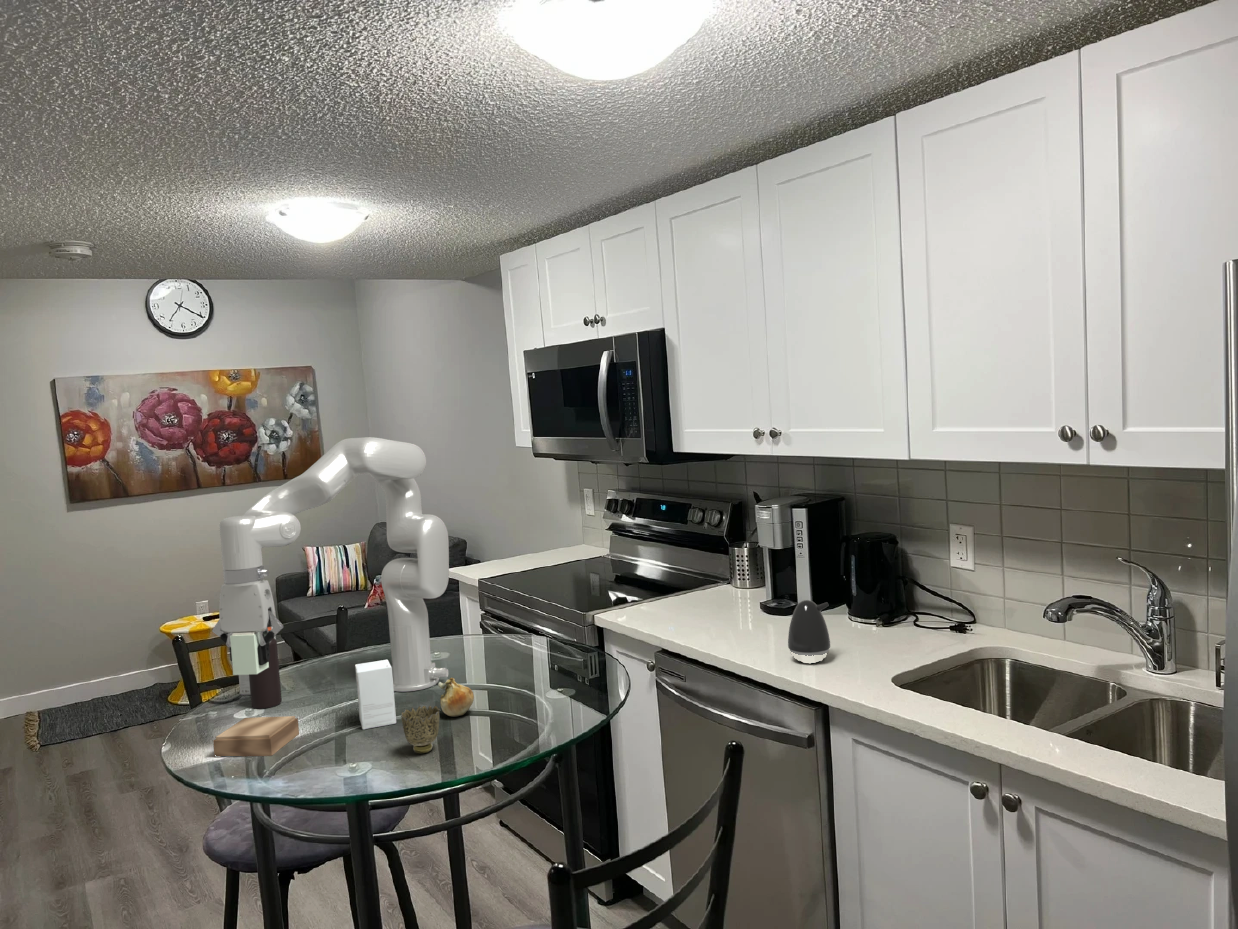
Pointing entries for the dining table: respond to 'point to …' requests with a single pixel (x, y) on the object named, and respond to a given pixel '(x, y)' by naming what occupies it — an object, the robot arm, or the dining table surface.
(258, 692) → the bottle
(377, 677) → the supplement box
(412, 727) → the cup
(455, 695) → the onion
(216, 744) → the base block
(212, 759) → the dining table surface
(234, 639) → the sage block
